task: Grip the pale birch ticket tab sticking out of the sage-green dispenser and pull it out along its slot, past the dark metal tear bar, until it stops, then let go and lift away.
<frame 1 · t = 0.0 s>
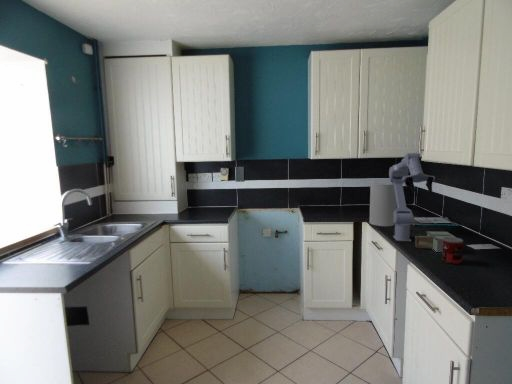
hand: (422, 191, 157), 32 cm above the worktop, tool tilted 50°, fingers open, 7 cm apart
ticket dispenser: (441, 248, 171), on the worktop
canned food: (451, 262, 153), on the worktop
cylinder: (382, 223, 228), on the worktop
ticket tab: (429, 242, 172), point 3 cm above the worktop, slide at 0.0 cm
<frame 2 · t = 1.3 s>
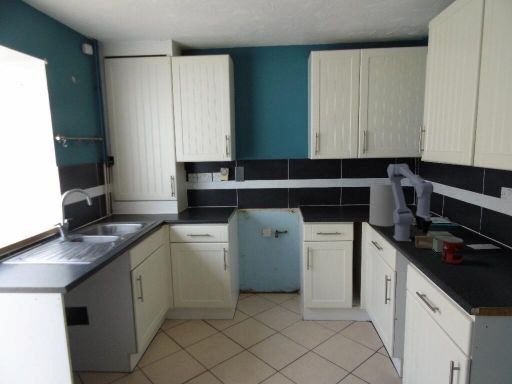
hand: (422, 231, 171), 9 cm above the worktop, tool pointing down, fingers open, 7 cm apart
nothing on the worktop moved.
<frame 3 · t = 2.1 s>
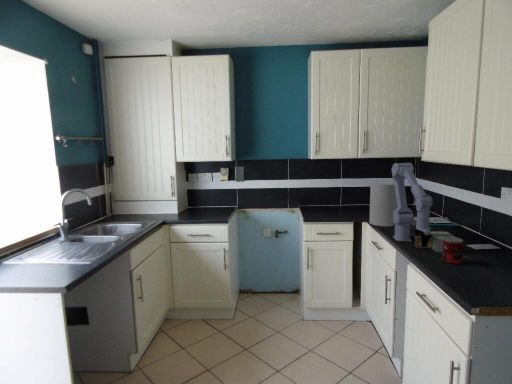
hand: (421, 244, 173), 2 cm above the worktop, tool pointing down, fingers open, 7 cm apart
nothing on the worktop moved.
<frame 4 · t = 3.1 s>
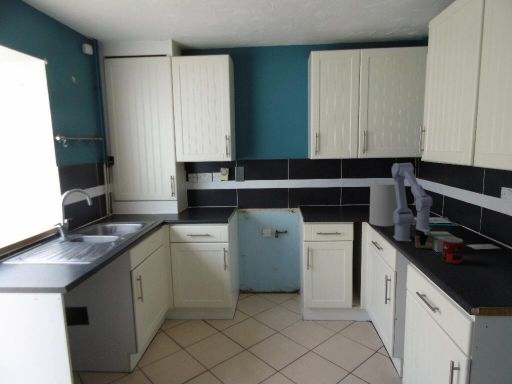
hand: (421, 244, 173), 2 cm above the worktop, tool pointing down, fingers closed on ticket tab, 2 cm apart
ticket tab: (429, 242, 172), point 3 cm above the worktop, slide at 0.0 cm, touching gripper
everything else where it was.
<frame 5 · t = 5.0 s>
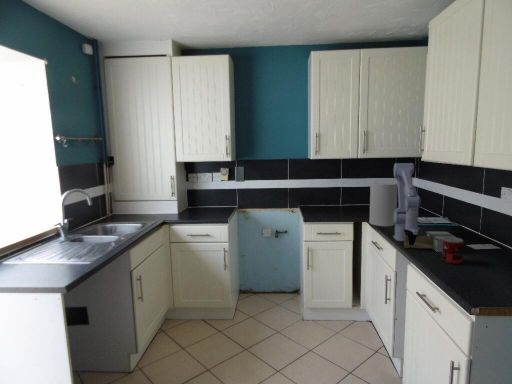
hand: (410, 244, 173), 2 cm above the worktop, tool pointing down, fingers closed on ticket tab, 2 cm apart
ticket tab: (418, 242, 173), point 3 cm above the worktop, slide at 5.5 cm, touching gripper
everything else where it was.
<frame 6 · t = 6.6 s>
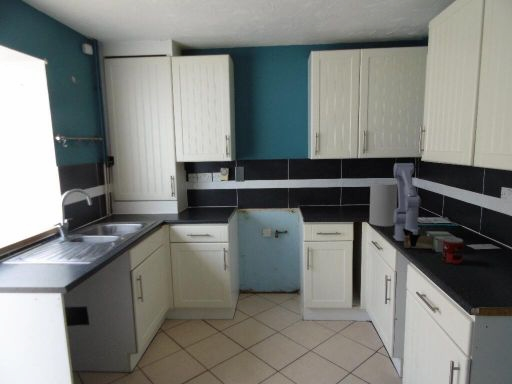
hand: (410, 244, 173), 2 cm above the worktop, tool pointing down, fingers open, 7 cm apart
ticket tab: (418, 242, 173), point 3 cm above the worktop, slide at 5.5 cm
everything else where it was.
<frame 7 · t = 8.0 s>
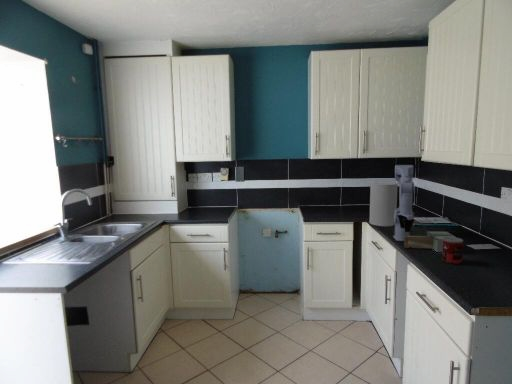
hand: (405, 230, 175), 9 cm above the worktop, tool pointing down, fingers open, 7 cm apart
nothing on the worktop moved.
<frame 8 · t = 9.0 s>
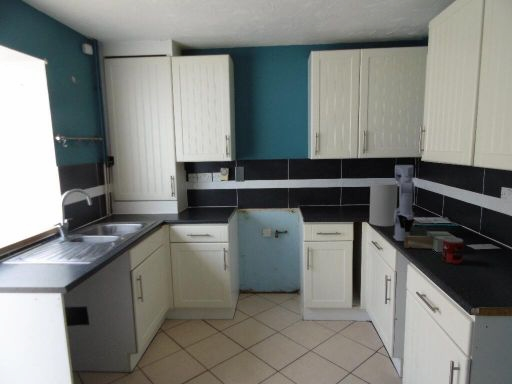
hand: (405, 230, 175), 9 cm above the worktop, tool pointing down, fingers open, 7 cm apart
nothing on the worktop moved.
at the end: ticket tab slide at 5.5 cm; the gripper is holding nothing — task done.
